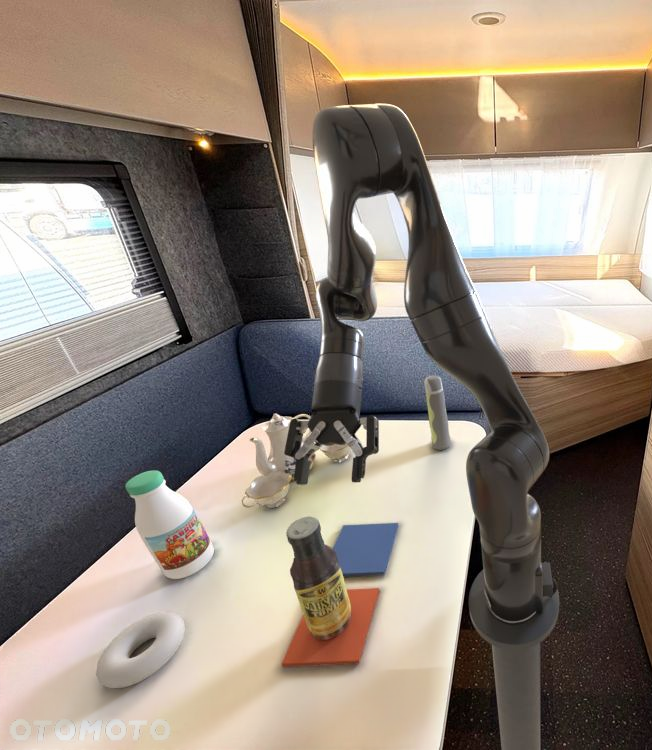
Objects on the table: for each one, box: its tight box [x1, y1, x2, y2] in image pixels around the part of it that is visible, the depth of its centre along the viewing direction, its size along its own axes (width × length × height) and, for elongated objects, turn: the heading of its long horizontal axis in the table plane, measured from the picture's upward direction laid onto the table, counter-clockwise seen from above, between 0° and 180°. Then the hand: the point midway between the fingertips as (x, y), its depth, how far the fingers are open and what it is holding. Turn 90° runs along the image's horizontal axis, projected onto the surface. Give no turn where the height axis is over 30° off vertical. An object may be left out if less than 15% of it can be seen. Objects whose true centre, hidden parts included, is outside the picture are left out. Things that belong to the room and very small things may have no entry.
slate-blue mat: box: [332, 522, 399, 578], centre depth 72 cm, size 11×11×1 cm
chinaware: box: [241, 413, 352, 509], centre depth 90 cm, size 28×17×17 cm, turn 154°
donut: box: [95, 611, 186, 689], centre depth 57 cm, size 10×4×10 cm
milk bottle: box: [125, 470, 215, 580], centre depth 67 cm, size 8×8×20 cm
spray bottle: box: [423, 375, 452, 451], centre depth 97 cm, size 5×5×20 cm
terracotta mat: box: [281, 587, 381, 668], centre depth 60 cm, size 11×11×1 cm
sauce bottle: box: [285, 515, 351, 640], centre depth 55 cm, size 7×6×20 cm
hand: (329, 483), depth 60 cm, fingers open, 8 cm apart
